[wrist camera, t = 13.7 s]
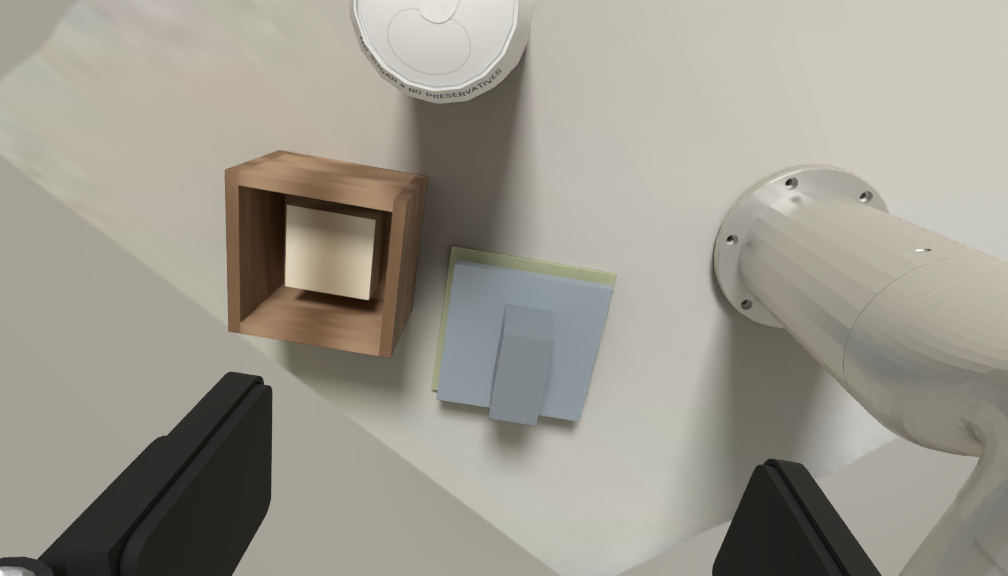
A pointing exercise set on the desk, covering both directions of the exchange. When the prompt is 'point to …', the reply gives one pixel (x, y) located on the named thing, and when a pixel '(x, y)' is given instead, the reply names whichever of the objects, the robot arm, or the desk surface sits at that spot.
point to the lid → (521, 342)
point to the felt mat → (511, 263)
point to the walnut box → (322, 251)
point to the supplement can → (442, 43)
